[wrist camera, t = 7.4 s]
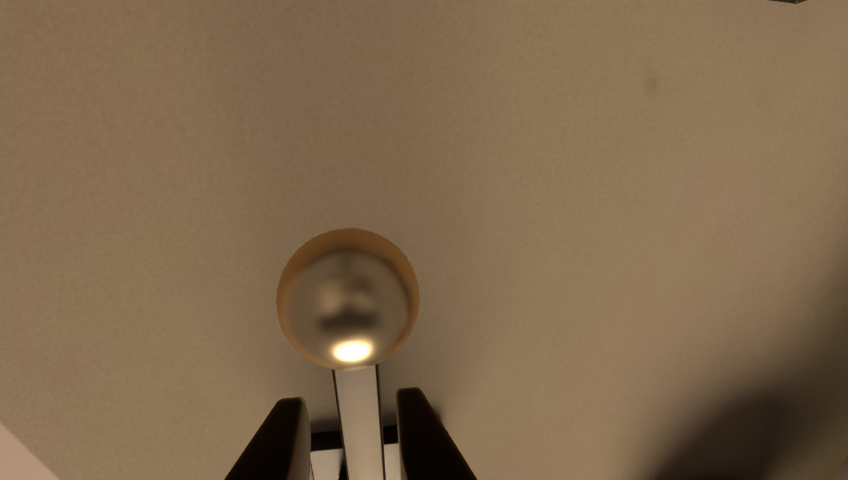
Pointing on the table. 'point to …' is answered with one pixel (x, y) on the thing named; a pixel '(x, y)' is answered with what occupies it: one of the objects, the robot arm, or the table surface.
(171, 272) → the table surface
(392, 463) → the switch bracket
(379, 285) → the power lever
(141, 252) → the table surface
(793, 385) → the table surface
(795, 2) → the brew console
